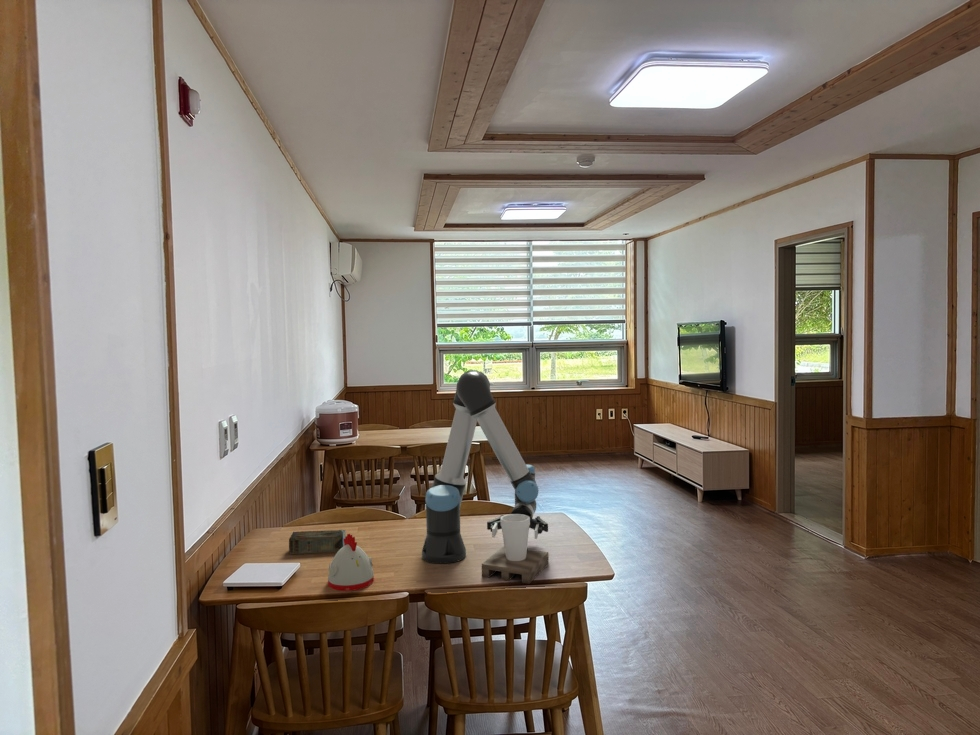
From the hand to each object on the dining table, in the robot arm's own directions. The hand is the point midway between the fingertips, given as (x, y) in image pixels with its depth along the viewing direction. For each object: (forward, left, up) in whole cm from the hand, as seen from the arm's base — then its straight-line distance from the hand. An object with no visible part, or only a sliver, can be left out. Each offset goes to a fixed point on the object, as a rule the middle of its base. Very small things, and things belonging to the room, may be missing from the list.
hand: (514, 533), depth 200 cm
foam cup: (+3, +1, -9) cm, 9 cm away
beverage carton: (-5, +75, -13) cm, 76 cm away
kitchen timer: (-25, +45, -13) cm, 53 cm away
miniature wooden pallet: (+3, +1, -13) cm, 13 cm away
